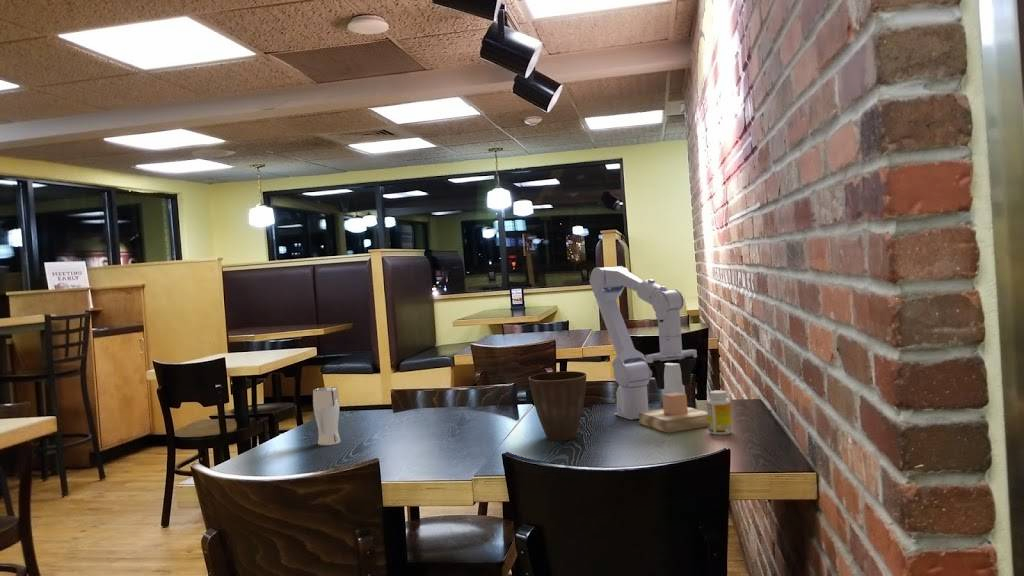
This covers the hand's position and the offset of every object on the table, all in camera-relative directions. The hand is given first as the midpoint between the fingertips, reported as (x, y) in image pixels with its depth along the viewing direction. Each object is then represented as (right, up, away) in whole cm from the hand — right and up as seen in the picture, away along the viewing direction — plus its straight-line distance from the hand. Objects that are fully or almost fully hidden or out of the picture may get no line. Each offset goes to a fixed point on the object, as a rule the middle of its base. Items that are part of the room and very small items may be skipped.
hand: (673, 387), depth 188 cm
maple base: (+1, -10, 0) cm, 10 cm away
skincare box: (+7, -9, +30) cm, 32 cm away
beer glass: (-93, -17, +8) cm, 95 cm away
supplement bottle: (+9, -10, -13) cm, 18 cm away
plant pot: (-30, -12, -6) cm, 33 cm away
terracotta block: (0, -7, 0) cm, 7 cm away
